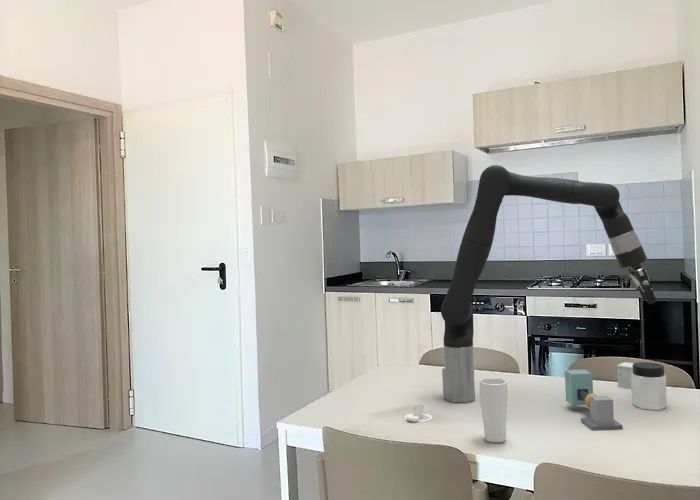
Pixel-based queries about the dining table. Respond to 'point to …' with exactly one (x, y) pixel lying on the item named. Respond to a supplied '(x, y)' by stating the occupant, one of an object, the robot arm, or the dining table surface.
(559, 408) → the dining table surface
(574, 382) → the teal block with hole
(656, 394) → the jar
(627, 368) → the skincare box
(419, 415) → the teacup and saucer
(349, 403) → the dining table surface
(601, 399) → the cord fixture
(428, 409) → the dining table surface
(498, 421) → the drinking glass
